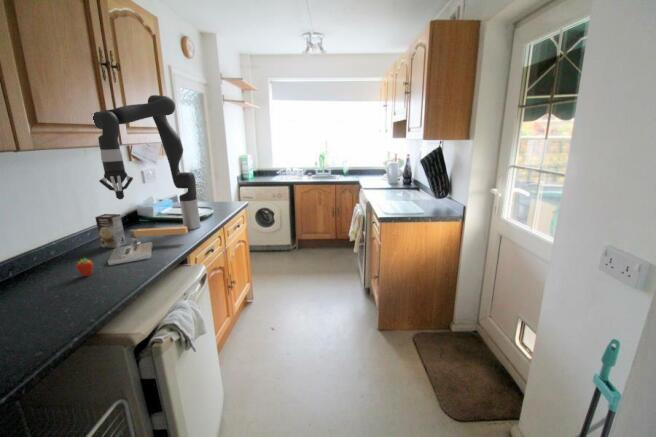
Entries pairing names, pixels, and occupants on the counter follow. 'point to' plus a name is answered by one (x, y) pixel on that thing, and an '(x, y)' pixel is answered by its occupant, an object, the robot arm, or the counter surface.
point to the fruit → (85, 267)
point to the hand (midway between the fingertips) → (120, 199)
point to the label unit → (130, 253)
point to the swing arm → (157, 231)
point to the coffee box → (110, 230)
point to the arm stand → (134, 241)
